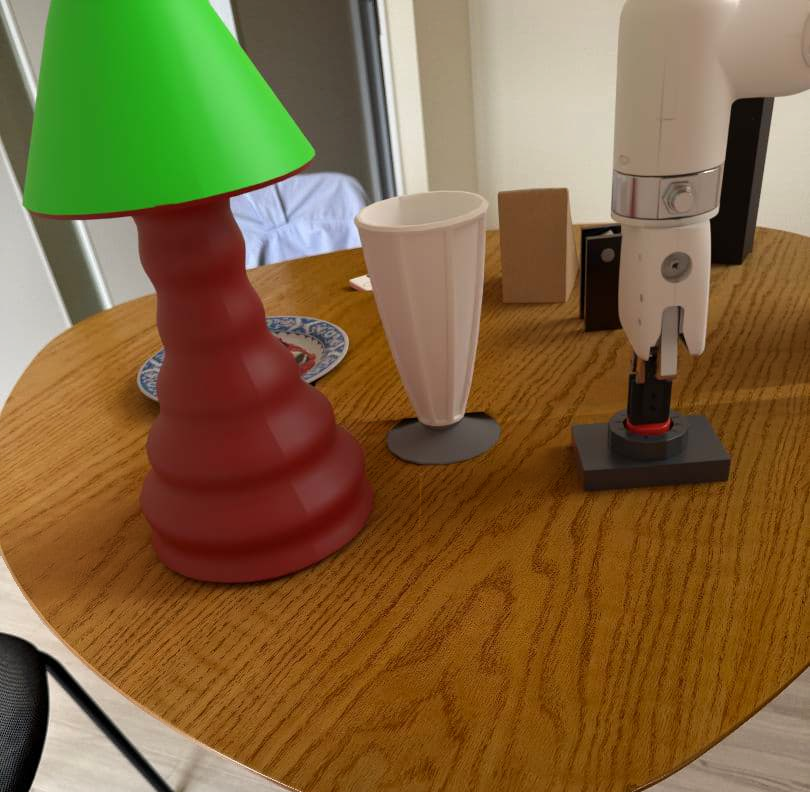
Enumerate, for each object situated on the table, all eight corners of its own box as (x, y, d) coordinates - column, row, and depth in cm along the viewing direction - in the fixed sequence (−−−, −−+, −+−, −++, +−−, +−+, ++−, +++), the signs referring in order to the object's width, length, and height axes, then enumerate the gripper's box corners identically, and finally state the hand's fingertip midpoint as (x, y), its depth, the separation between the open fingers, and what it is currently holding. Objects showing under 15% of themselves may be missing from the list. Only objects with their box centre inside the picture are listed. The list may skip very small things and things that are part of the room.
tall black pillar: (740, 275, 103) (775, 23, 87) (679, 271, 107) (701, 29, 90) (752, 256, 109) (787, 15, 92) (693, 253, 112) (717, 21, 96)
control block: (702, 435, 72) (707, 395, 70) (727, 481, 66) (734, 440, 63) (570, 445, 73) (571, 407, 71) (583, 492, 67) (584, 452, 65)
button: (663, 425, 69) (665, 407, 68) (673, 445, 66) (675, 427, 65) (622, 428, 70) (623, 411, 69) (630, 449, 67) (631, 430, 66)
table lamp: (210, 624, 59) (-77, -182, 32) (121, 517, 72) (-131, -110, 46) (419, 515, 67) (329, -196, 40) (304, 438, 81) (180, -131, 54)
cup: (412, 478, 72) (380, 237, 59) (369, 428, 81) (334, 209, 68) (522, 443, 75) (515, 206, 62) (470, 398, 83) (454, 182, 71)
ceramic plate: (323, 317, 109) (320, 296, 107) (377, 387, 88) (373, 362, 87) (137, 360, 104) (130, 338, 102) (148, 444, 83) (140, 420, 82)
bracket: (644, 315, 96) (651, 215, 89) (659, 341, 90) (667, 235, 83) (546, 325, 97) (545, 227, 90) (553, 350, 91) (553, 247, 84)
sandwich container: (582, 271, 111) (584, 157, 102) (568, 312, 100) (569, 187, 91) (522, 272, 114) (519, 161, 105) (501, 312, 102) (496, 190, 93)
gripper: (753, 213, 50) (717, 460, 61) (691, 164, 62) (671, 378, 73) (632, 225, 50) (618, 468, 61) (595, 175, 62) (589, 385, 73)
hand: (647, 419), depth 67 cm, fingers closed
